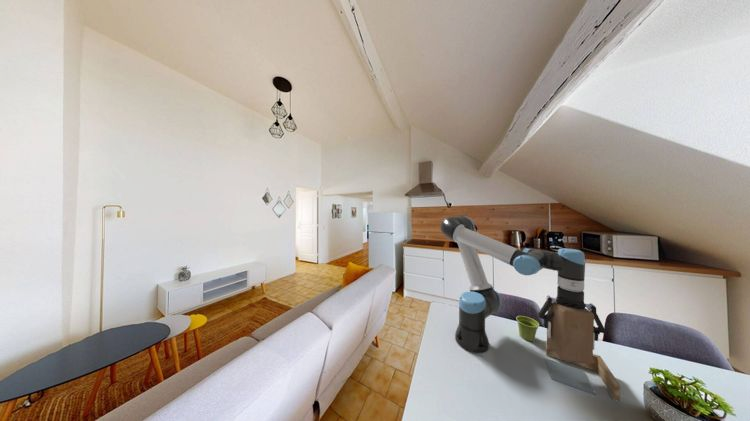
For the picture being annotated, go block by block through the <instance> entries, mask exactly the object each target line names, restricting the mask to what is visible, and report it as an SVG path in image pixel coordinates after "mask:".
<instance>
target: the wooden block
mask: <svg viewBox="0 0 750 421" xmlns="http://www.w3.org/2000/svg"><path fill="white" fill-rule="evenodd" d="M549 311H553V312H554V317H553V318H552V319H550V322H551V338H548V336H547V335H546V341H547V343H548V345H549V346H550V347H551V348H552V349H553V350H554V351H555V352H556V353H557V354H558V356H559V357H560V358H561V359H563V360H562V361H564V360H565V362H567V361H572V362H579V363H587V364H592V363H593V354H594V350H593V332H594V326H595V320H594V314H593V313H592V312H591V311H590V310H588V309H587V307H585V308H584V309H575V308H574V307H570V306H569V307H565V306H563V305H560V304H558V303H557V302H556V301H555V302H554V303H552V304H551V306H550V308H549V309H548V311H547V313H548V312H549ZM561 359H560V360H561Z"/></svg>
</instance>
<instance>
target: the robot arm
mask: <svg viewBox="0 0 750 421" xmlns="http://www.w3.org/2000/svg"><path fill="white" fill-rule="evenodd" d="M439 227H440V231H441V233H442V235H444V236H445V237H446V238H448V239H450V240H452V241H454V243H456V244H457V246H458V249H459V252H460V255H461V259H462V262H463V264H464V267H465V271H466V274H467V277H468V280H469V282H470V286H469V288H468V289H469V291H464V292H463V293H461V294H460V296H459V301H458V306H459V307H458V309H459V311H458V321H459V322H458V326H457V327H456V330H455V332H454V333H455V334H454V336H455V338H454V340H455V342H456V343H457V344H458V345H459V346H460V347H461V348H462V349H464V350H465V351H468V352H471V353H473V354H484V353H485V354H486V353H487V352H488V351H489V350H490V341H489V338H488V335H487V332H486V320H487V318H488V317H490V316H491V315H493V314H494V313H496V312H498V310H499V309H500V308H501V306H502V298H501V296H500V294H499V292H498V291H496V290H495V289H494V286H493V285H492V284H491V283H489V282H488V280H487V277H486V273H485V272H484V267H483V266H482V263H481V259H480V257H479V254H478V251H479V252H481V253H484V254H486V255H488V256H489V257H492V258H494V259H497V260H498V261H501V262H503V263H505V264H507V265H510V266H511V267H513V268H514V269H515V271H516V272H517V273H519V274H520V275H523V276H532V275H536V274H537V273H538V272H540V271H541V270H543V269H546V270H552V271H557V287H556V288H557V289H556V290H557V291H556V297H552V296H550V295H547V296H546V301H545V302H544V304H543V306H542V307H540V308H541V309H540V310H539V311H538V317H539V319H542V320H543V327H544V328H545V329H546V337H547V336H548V338H551V322H550V319H552V318H553V317H554V312H553V311H549V312H548V309H549V308H550V306H551V304H552V303H554V302H555V301H556V302H557V303H558V304H560V305H563V306H565V307H569V306H570V307H574V308H575V309H584V308H586V309H587V310H589V311H591V312H592V313H593V314H594V323H595V324H596V326H595V325H594V332H593V351H595V342H599V335H601V333H602V334H607V331H606V329H605V327H604V325H603V323H602V321H601V319H600V318H599V315H598V313H597V307H596V306H595V305H594V304H593V303H585V276H586V274H585V273H586V259H585V258H586V257H585V256H586V255H585V253H584V251H581V250H580V249H575V248H566V247H565V248H558V251H555V252H554V251H548V250H542V249H537V248H526V247H524V248H523V249H522V250H521V249H518V248H517V247H513V246H512V245H509V244H507V243H503V242H501V241H499V240H496V239H494V238H491V237H489V236H486V235H485V234H481V233H479V232H478V231H474V230H475V222H474V220H473V219H471V218H469V217H468V216H466V215H465V216H463V215H458V216H448V217H445V218H444V219H442V221H441V223H440V226H439Z"/></svg>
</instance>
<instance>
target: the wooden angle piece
mask: <svg viewBox="0 0 750 421" xmlns="http://www.w3.org/2000/svg"><path fill="white" fill-rule="evenodd" d="M545 355H546V356H548V357H552V358H555V359H558V360H561V361H565V360H563V359H561V358H560V357H559V356H558V354H557V353H556V352H555V351H554V350H553V349H552V348H551V347H550V346H549V345H548V343H547V340H546V341H545ZM565 362H568V363H570V364H573V365H578V366H580V367H583V368H587V369H590V370H593V371H596V373H597V374H598V375H599V377H600V378H601V380H602V382H603V384H604V386H605V388H606V389H607V390H608V392H609V394H610V396H611V397H612V399H613V400H614V401H617V402H620V393H621V392H620V391H621V390H620V388H621V384H620V383H619V382H618V380H617V379H616V377H615V376H614V374H613V373H612V371H611V369H609V367H608V366H607V364H606V362H605V361H604V359H603V358H602V357H601V355H598V354H595V353H593V363H592V364H587V363H579V362H572V361H565Z"/></svg>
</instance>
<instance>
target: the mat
mask: <svg viewBox="0 0 750 421" xmlns="http://www.w3.org/2000/svg"><path fill="white" fill-rule="evenodd" d="M544 359H545V363H546V366H547V369H548V373H549V377H550V380H553V381H556V382H558V383H560V384H561V383H562V384H564V385H567V386H570V387H572V388H575V389H578V390H581V391H584V392H586V393H588V394H593V395H594V396H596V393H595V391H594V388H593V386H592V385H591V383H590V381H589V379H588V377H587V375H586V374H585V371H584V369H581V368H578V367H574V366H571V365H569V364H566V363H562V362H559V361H557V360H553V359H549V358H547V357H545V358H544Z"/></svg>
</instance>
